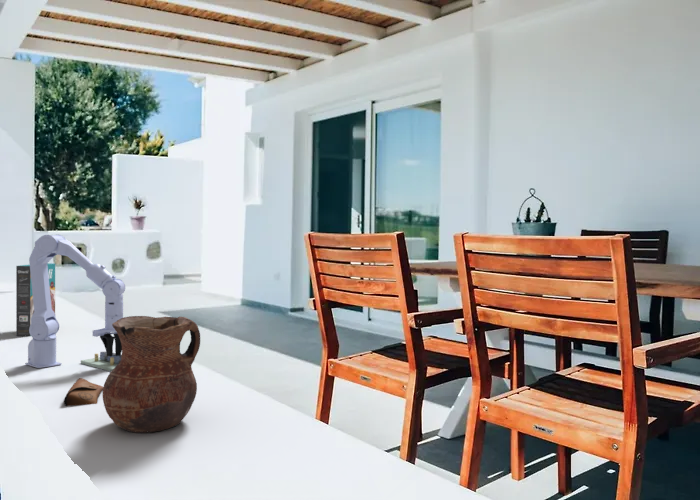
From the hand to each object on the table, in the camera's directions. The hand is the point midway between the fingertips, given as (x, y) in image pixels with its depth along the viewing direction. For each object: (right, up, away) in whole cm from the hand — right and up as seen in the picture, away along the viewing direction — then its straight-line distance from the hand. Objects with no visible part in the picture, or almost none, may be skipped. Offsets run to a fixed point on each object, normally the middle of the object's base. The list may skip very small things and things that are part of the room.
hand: (114, 355), depth 213 cm
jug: (+32, -6, -63) cm, 71 cm away
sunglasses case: (+7, -5, -39) cm, 40 cm away
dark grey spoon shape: (0, -2, 0) cm, 2 cm away
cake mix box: (-59, -1, +66) cm, 89 cm away
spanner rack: (-1, -3, +1) cm, 4 cm away
